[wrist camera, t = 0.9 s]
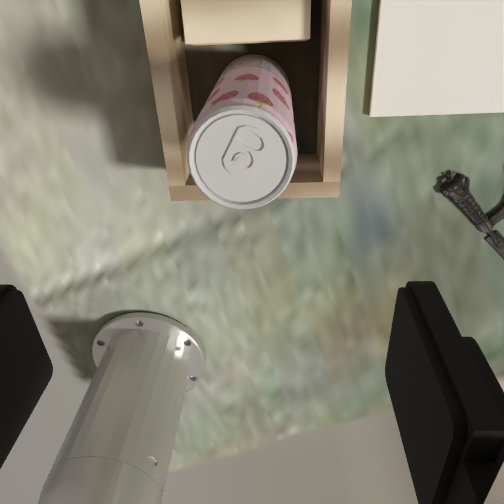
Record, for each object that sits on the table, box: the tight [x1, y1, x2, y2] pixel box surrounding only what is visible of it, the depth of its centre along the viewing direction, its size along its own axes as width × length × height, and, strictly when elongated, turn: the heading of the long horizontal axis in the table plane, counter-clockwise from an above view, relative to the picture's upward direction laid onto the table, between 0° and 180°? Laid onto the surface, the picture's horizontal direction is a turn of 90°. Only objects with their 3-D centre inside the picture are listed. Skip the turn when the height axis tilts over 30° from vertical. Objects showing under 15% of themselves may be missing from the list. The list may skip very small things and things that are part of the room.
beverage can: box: [187, 54, 297, 209], centre depth 28 cm, size 6×6×15 cm
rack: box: [139, 0, 352, 201], centre depth 30 cm, size 19×12×6 cm, turn 3°
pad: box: [369, 0, 504, 117], centre depth 31 cm, size 12×12×1 cm
